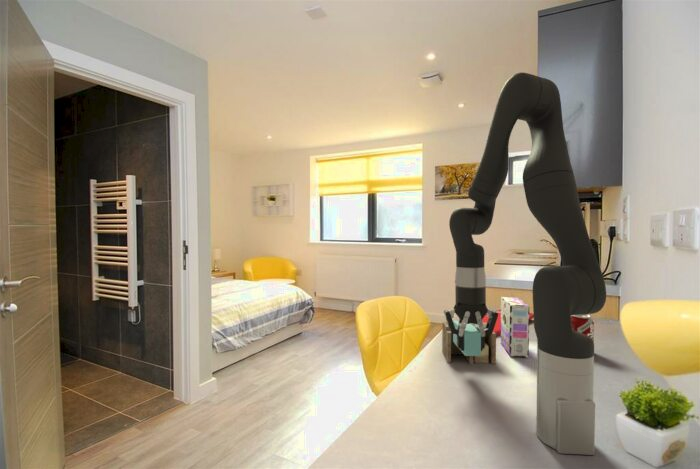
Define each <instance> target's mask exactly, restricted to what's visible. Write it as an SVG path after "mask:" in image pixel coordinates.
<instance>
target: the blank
mask: <svg viewBox="0 0 700 469" xmlns="http://www.w3.org/2000/svg"><path fill="white" fill-rule="evenodd" d="M458 322H459V320H453V323H454V326H455V329H457V328H458ZM463 336H464V351H462V353H463V354H462V355H464V357H465V356H481V332H480V331H479V330H477V329H476V328H475V327H474V326H473V325H471V324H467V325H466V328H465V330H464V334H463ZM453 342H454V343H455V344H456V345H457V335H456V334H453ZM457 347H458V346H457ZM459 349H460V348H459Z"/></svg>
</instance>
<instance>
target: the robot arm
mask: <svg viewBox="0 0 700 469" xmlns="http://www.w3.org/2000/svg"><path fill="white" fill-rule="evenodd" d="M562 111H563V109H562V101H561V93H560V90H559V88H558V85H557V84H556V83H555V82H554V81H552V80H550V79H549V78H545V77H542V76H538V75H535V74H531V73H528V72H518V73H515V74H513V75H512V76H510V77H509V78H508V79H507V80H506V81H505V83H504V85H503V86H502V89H501V90H500V93H499V95H498V98H497V102H496V105H495V109H494V112H493V117H492V119H491V124H490V127H489V131H488V135H487V139H486V143H485V147H484V149H483V154H482V157H481V160H480V162H479V164H478V167H477V169H476V170H477V171H475V174H474V177H473V179H472V181H471V183H470V186H469V188H468V191H467V192H468V193H467V195H468V196H467V197H468V198H469V199H470V200H471V201H473V202H474V205H473V207H458V208H455V209H454V211H453V212H452V213H451V215H450V217H449V224H448V226H449V232H450V234H451V238H452V241H453V245H454V249H455V257H456V258H455V259H456V260H455V264H456V266H455V274H454V275H455V276H454V284H455V289H454V290H455V304H454V307H453V308H451V309H449V310H447V309H445V310H443V314H444V317H445V322H447V324H448V326H449V329H450V331H451V332H452V333H453V334H456V335H457V346H458V348H460V350H461V351H464V336H463V334H464V330H465V328H466V325H467V324H470V323H473V324H475V325H476V327H477V330H479V331H480V332H481V351H482V349H484V348H485V336H486V335H488V334H490V335H491V334H492V333H493V330H494V327H495V324H496V321H497V318H498V313H497V312H495V311H496V310H493V309H492V310H491V309H488V307H487V305H486V304H487V290H486V289H487V287H486V286H487V285H486V283H487V282H486V278H487V277H486V272H485V271H486V270H485V249H484V247H483V245H480V244H477V243H475V242H474V238H473V236H479V235H484V233H486V232H487V231H489V230H488V229H490V227H491V225H492V222H493V218H494V213H495V208H496V202H497V199H498V196H499V195H500V192H501V190H502V188H503V186H504V184H505V182H506V181H507V180H506V179H507V177H508V173H509V164H510V160H509V158H510V156H509V155H510V154H509V144H510V137H511V135H512V131H513V129H514V127H515V125H516V123H517V122H518V120H519V121H525V123H526V124H527V126H528V129H529V133H530V139H531V150H530V153H529V155H528V157H527V160H526V161H525V162H526V163H525V165H524V168H523V171H522V172H523V173H522V185H523V190H524V195H525V200H526V203H527V206H528V209H529V211H530V213H531V214H532V215H533V217H534V218H535V220H536V221H537V222H538V224H540V226H541V227H542V228H543V229H544V230H545V231H546V232H547V234H548V235H549V236H550V237H551V239H552V240H553V241H554V243H555V245H556V248H557V250H558V253H559V256H560V257H559V258H560V260H561V264H562V265H549V266H544V267H541V268H540V269H538V271H537V272H536V273H535V276H534V278H533V280H532V281H533V283H532V309H533V313H532V314H534V318H533V328H534V332H535V336H536V340H537V346H536V350H537V351H536V352H537V353H536V357H537V358H536V409H535V410H536V428H535V429H536V431H535V432H536V433H535V434H536V436H537V437H538V439H539V440H540V441H541V442H542V443H544V444H545V445H547V446H549V447H550V448H553V449H554V450H556V452H557V453H558V454H566V455H567V454H568V455H589V456H590V455H591V456H595V447H596V446H595V438H596V437H595V436H596V433H595V432H596V403H595V402H594V379H595V378H594V373H595V369H594V367H595V341H594V342H593V340H592V339H591V338H590V337H589V336H587V335H585V334H582V333H580V332H577V331H574V330H573V328H572V322H571V316H572V315H581V314H582V315H584V314H587V315H592V314H593V315H594V314H596V313H598V312H600V311H601V310H602V309H603V308H604V306H605V304H606V302H607V287H606V283H605V277H604V275H603V272H602V269H601V266H600V264H599V261H598V258H597V255H596V253H595V250H594V247H593V245H592V242H591V239H590V236H589V233H588V229H587V225H586V221H585V218H584V214H583V210H582V207H581V206H582V205H581V203H580V202H581V201H580V197H579V192H578V187H577V183H576V179H575V173H574V170H573V167H572V163H571V158H570V155H569V149H568V144H567V140H566V136H565V135H566V134H565V130H564V121H563V120H564V119H563V114H562V113H563V112H562ZM455 314H456V316H457V317H458V321H459V322H458V328H457V329H455V326H454V323H453V321H454V320H453V319H454V318H455ZM486 314H487V317H488V321H487V324H486V327H485V329H484V326H483V322H482V319H483V318H484V316H485V315H486Z"/></svg>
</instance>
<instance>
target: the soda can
mask: <svg viewBox="0 0 700 469" xmlns="http://www.w3.org/2000/svg"><path fill="white" fill-rule="evenodd" d="M571 322H572V328H573V330H574V331H577V332H580V333H582V334H585V335H587V336H589V337H590V338H591V339H592V340H593V342H594V343H595V321H594V320H593V319H592V315H591V314H584V315H582V314H581V315H571Z"/></svg>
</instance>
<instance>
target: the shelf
mask: <svg viewBox="0 0 700 469" xmlns="http://www.w3.org/2000/svg"><path fill="white" fill-rule="evenodd" d="M470 324H471V325H473V326H474V327H475V328H476V329H477V327H476V325H475V324H473V323H470ZM486 324H487V323H485V322H483V326H484V329H485V327H486ZM441 334H442V341H441V342H442V344H441V346H442V350H441V351H442V355H443V356H444V358H445V361H446V362H447V363H448V364H450V363H452V354H453V355H454V354H456V355H464V354H463V353H462V351H461V350H460V349H459V348H458V347H457V345H456V344H455V343H454V342H453V333H452V332H451V331H450V329H449V326H448V324H447V321H442V333H441ZM485 343H486V344H487V345H488V346H489V351H488V362H490V363H491V364H492V365H496V364H497V336H496V333H495V332H493V333H492V334H491V335H490V334H488V335H486V336H485ZM464 357H465V358H466V360H467V362H468V363H469V364H474V360H473V356H465V355H464Z"/></svg>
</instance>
